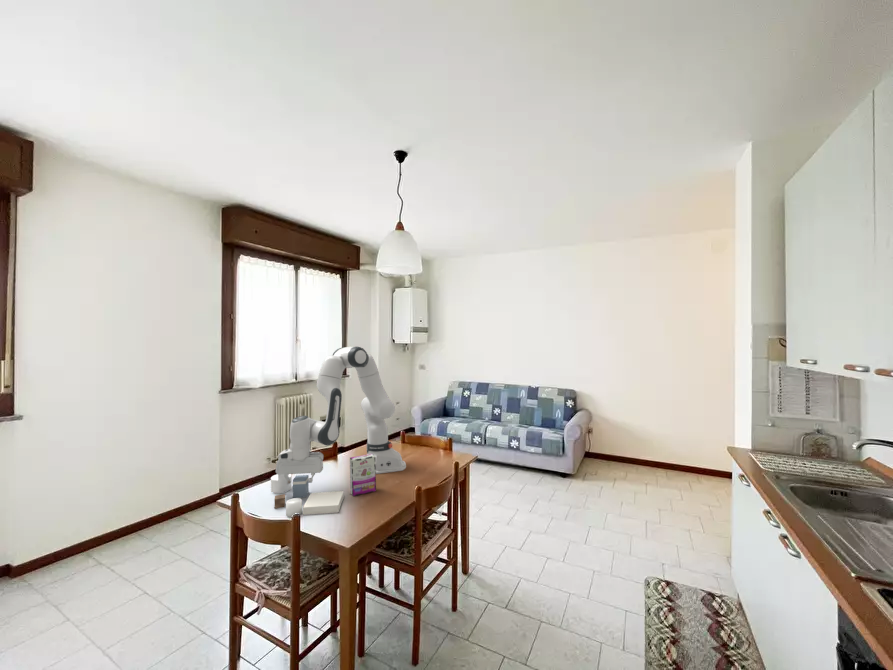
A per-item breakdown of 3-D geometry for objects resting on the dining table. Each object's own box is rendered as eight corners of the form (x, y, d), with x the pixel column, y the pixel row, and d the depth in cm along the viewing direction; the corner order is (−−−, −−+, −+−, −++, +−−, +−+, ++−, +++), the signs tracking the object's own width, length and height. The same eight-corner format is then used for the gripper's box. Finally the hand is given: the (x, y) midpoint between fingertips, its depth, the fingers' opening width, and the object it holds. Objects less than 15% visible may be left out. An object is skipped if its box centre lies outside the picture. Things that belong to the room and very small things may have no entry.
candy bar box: (373, 487, 174) (372, 453, 174) (376, 491, 169) (376, 456, 169) (349, 492, 168) (349, 456, 169) (352, 496, 164) (351, 460, 164)
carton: (308, 492, 169) (308, 474, 170) (305, 497, 164) (305, 479, 164) (296, 492, 169) (296, 475, 169) (292, 498, 163) (292, 480, 163)
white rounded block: (303, 509, 152) (303, 497, 152) (299, 516, 146) (299, 504, 146) (288, 510, 151) (288, 498, 151) (284, 517, 145) (283, 505, 145)
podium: (343, 497, 163) (343, 490, 163) (338, 512, 149) (338, 505, 149) (311, 499, 161) (311, 492, 161) (302, 514, 147) (302, 507, 147)
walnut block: (285, 503, 158) (285, 494, 158) (284, 507, 155) (284, 497, 155) (275, 504, 157) (275, 495, 157) (274, 508, 153) (274, 499, 153)
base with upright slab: (292, 490, 171) (292, 465, 171) (270, 494, 167) (270, 468, 167) (291, 484, 179) (290, 459, 179) (270, 487, 175) (270, 462, 175)
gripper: (324, 449, 171) (324, 479, 171) (279, 451, 168) (279, 481, 168) (321, 453, 165) (321, 484, 164) (274, 455, 162) (274, 486, 162)
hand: (299, 482), depth 166 cm, fingers open, 8 cm apart
